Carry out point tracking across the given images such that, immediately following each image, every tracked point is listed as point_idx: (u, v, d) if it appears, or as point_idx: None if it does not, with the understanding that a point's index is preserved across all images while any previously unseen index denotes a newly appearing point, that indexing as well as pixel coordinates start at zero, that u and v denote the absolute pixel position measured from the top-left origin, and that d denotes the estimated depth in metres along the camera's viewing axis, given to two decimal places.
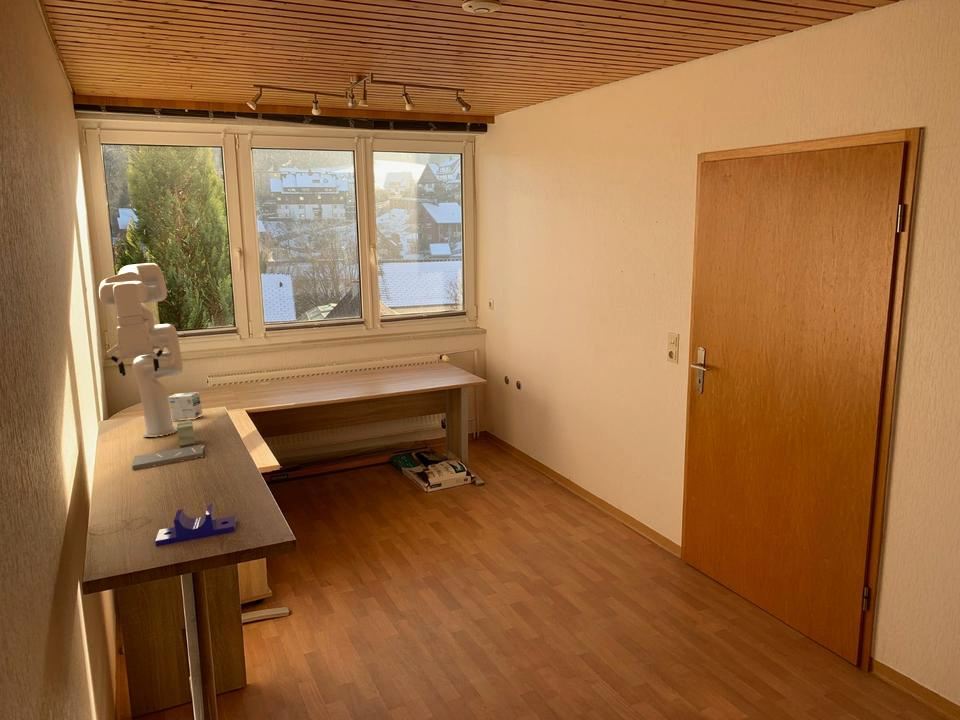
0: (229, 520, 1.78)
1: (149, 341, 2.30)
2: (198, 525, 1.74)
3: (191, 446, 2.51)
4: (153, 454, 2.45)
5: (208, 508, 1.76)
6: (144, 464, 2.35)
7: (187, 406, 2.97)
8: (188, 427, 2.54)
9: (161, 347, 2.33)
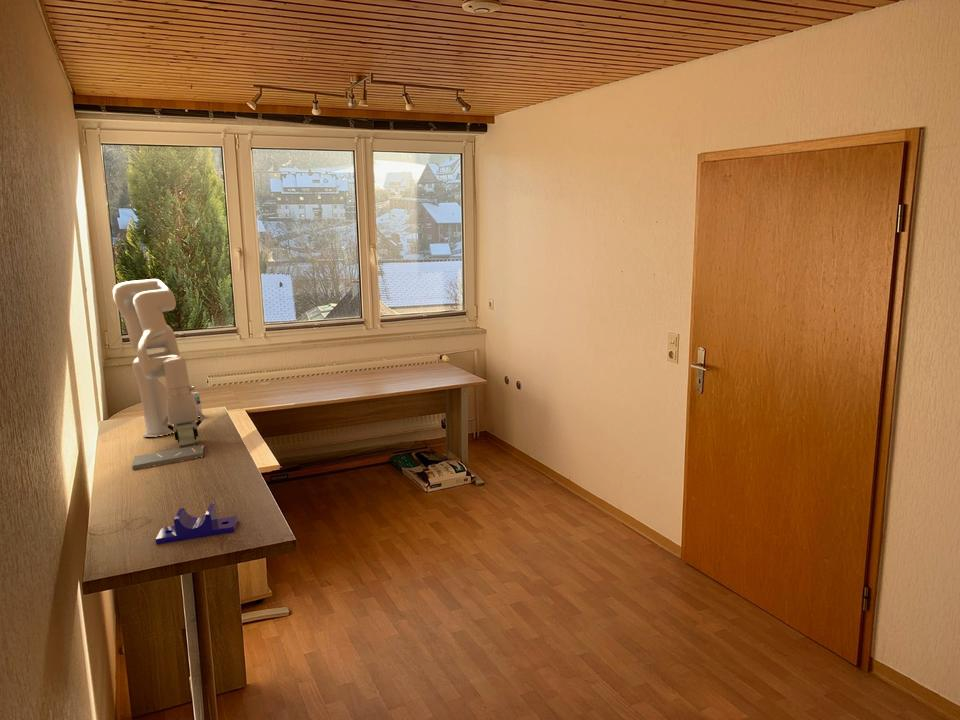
0: (229, 520, 1.78)
1: (195, 409, 2.56)
2: (198, 524, 1.74)
3: (191, 446, 2.51)
4: (153, 454, 2.45)
5: (209, 508, 1.76)
6: (144, 464, 2.35)
7: None
8: (188, 427, 2.54)
9: (201, 418, 2.59)
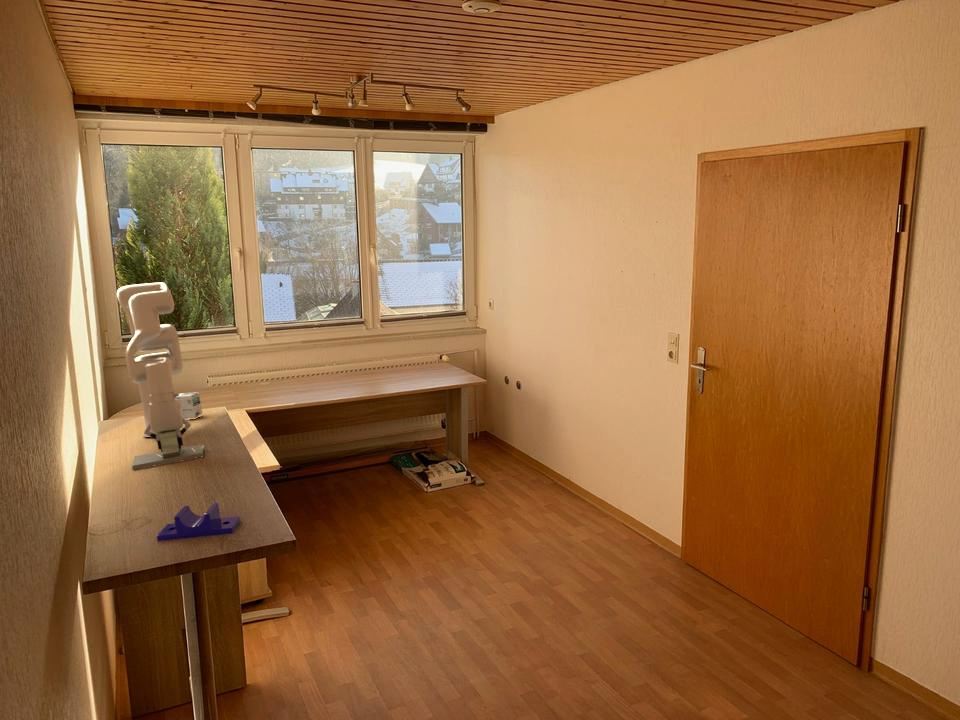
0: (231, 521, 1.78)
1: (179, 416, 2.41)
2: (198, 523, 1.75)
3: (191, 446, 2.51)
4: (153, 454, 2.45)
5: (211, 507, 1.77)
6: (144, 464, 2.35)
7: (187, 406, 2.97)
8: (171, 435, 2.38)
9: (186, 426, 2.43)
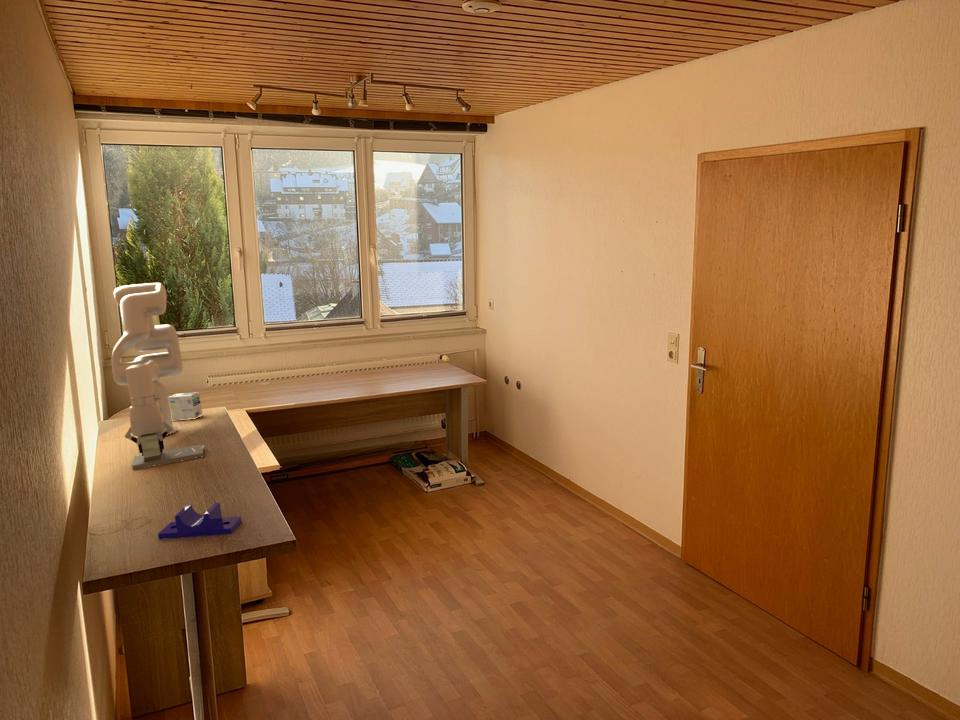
0: (231, 521, 1.77)
1: (160, 420, 2.39)
2: (199, 522, 1.75)
3: (191, 446, 2.51)
4: None
5: (211, 507, 1.77)
6: (144, 464, 2.35)
7: (187, 406, 2.97)
8: (152, 438, 2.36)
9: (168, 429, 2.41)
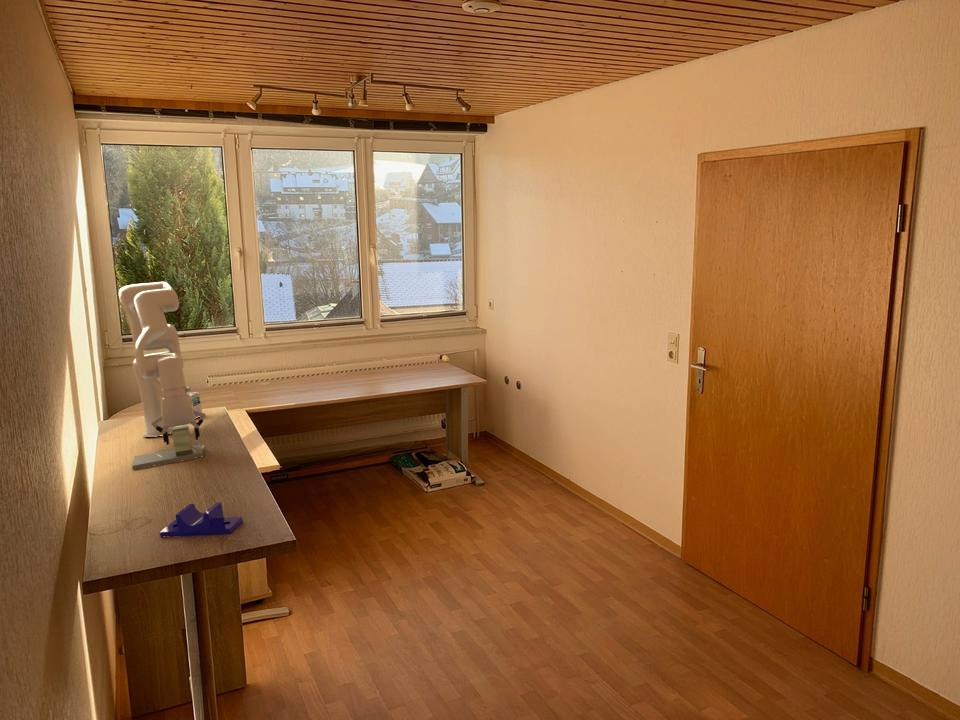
0: (231, 521, 1.77)
1: (191, 411, 2.42)
2: (199, 522, 1.75)
3: None
4: (153, 454, 2.45)
5: (212, 506, 1.77)
6: (144, 464, 2.35)
7: None
8: (184, 433, 2.40)
9: (202, 417, 2.45)
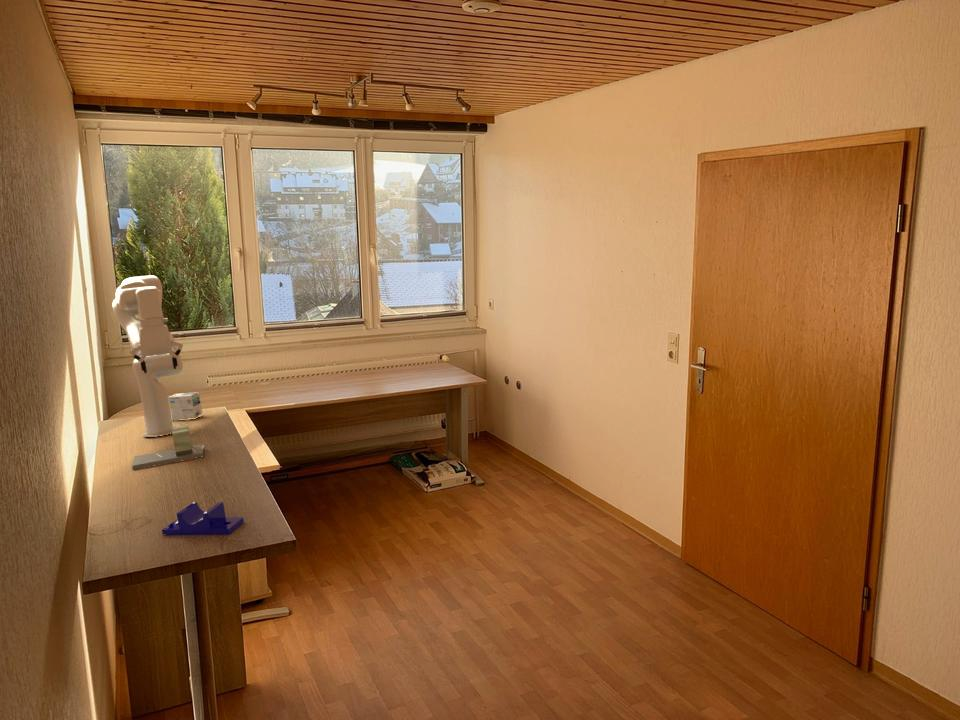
0: (232, 521, 1.77)
1: (168, 341, 2.51)
2: (200, 521, 1.76)
3: None
4: (153, 454, 2.45)
5: (213, 506, 1.77)
6: (144, 464, 2.35)
7: (187, 406, 2.97)
8: (184, 433, 2.40)
9: (179, 347, 2.54)
